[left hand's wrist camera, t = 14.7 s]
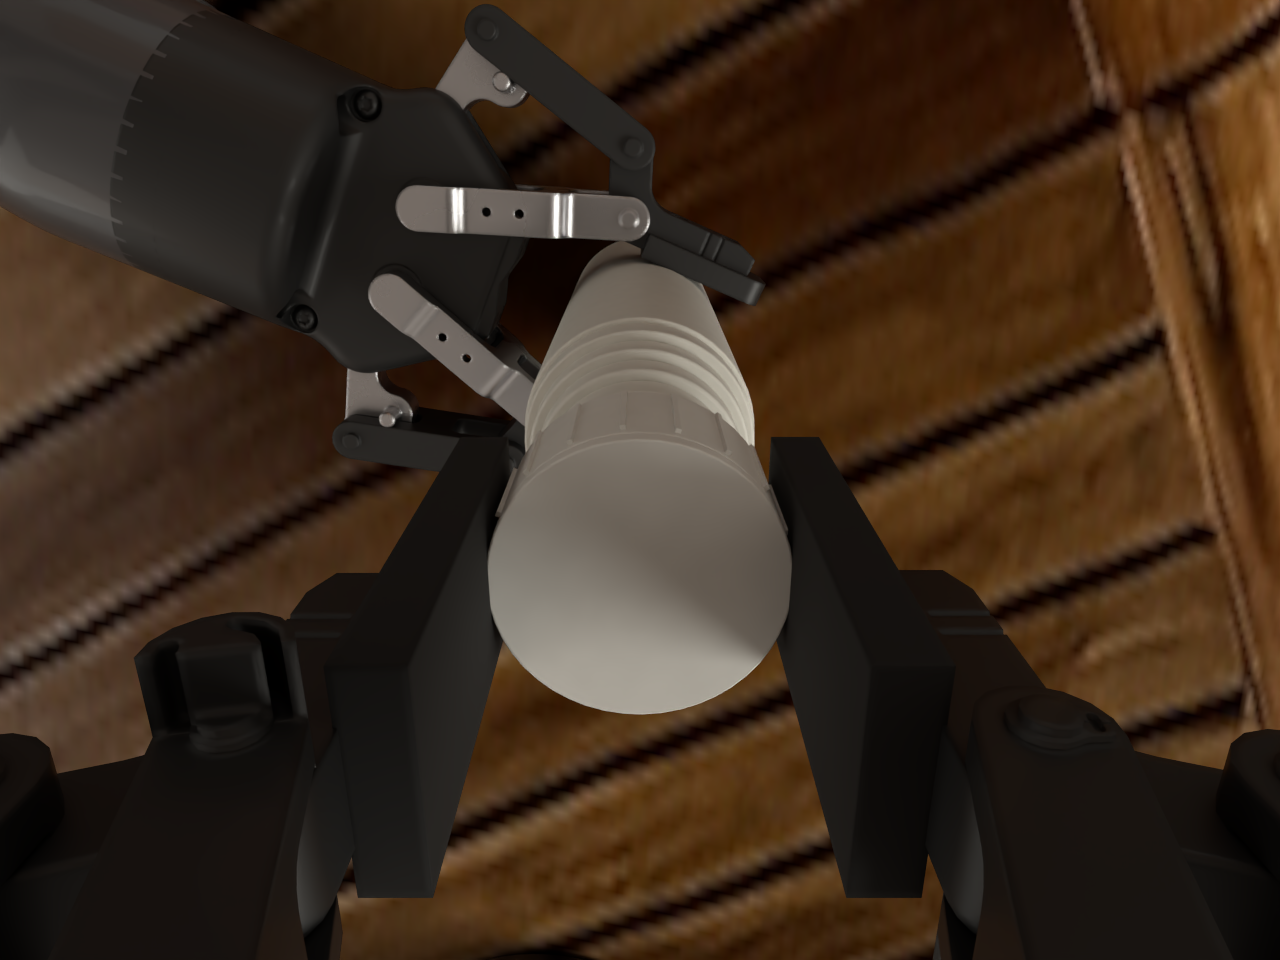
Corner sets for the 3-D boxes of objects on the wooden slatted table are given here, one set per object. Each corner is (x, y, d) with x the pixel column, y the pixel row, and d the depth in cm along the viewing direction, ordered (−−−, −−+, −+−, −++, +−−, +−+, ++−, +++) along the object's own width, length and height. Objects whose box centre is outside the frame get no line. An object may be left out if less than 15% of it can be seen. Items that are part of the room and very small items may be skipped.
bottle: (637, 393, 34) (635, 763, 14) (547, 302, 33) (400, 564, 13) (730, 306, 33) (877, 572, 13) (641, 208, 32) (645, 331, 11)
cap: (807, 423, 14) (839, 476, 12) (730, 656, 15) (745, 744, 13) (536, 357, 13) (516, 401, 11) (484, 605, 15) (457, 684, 13)
